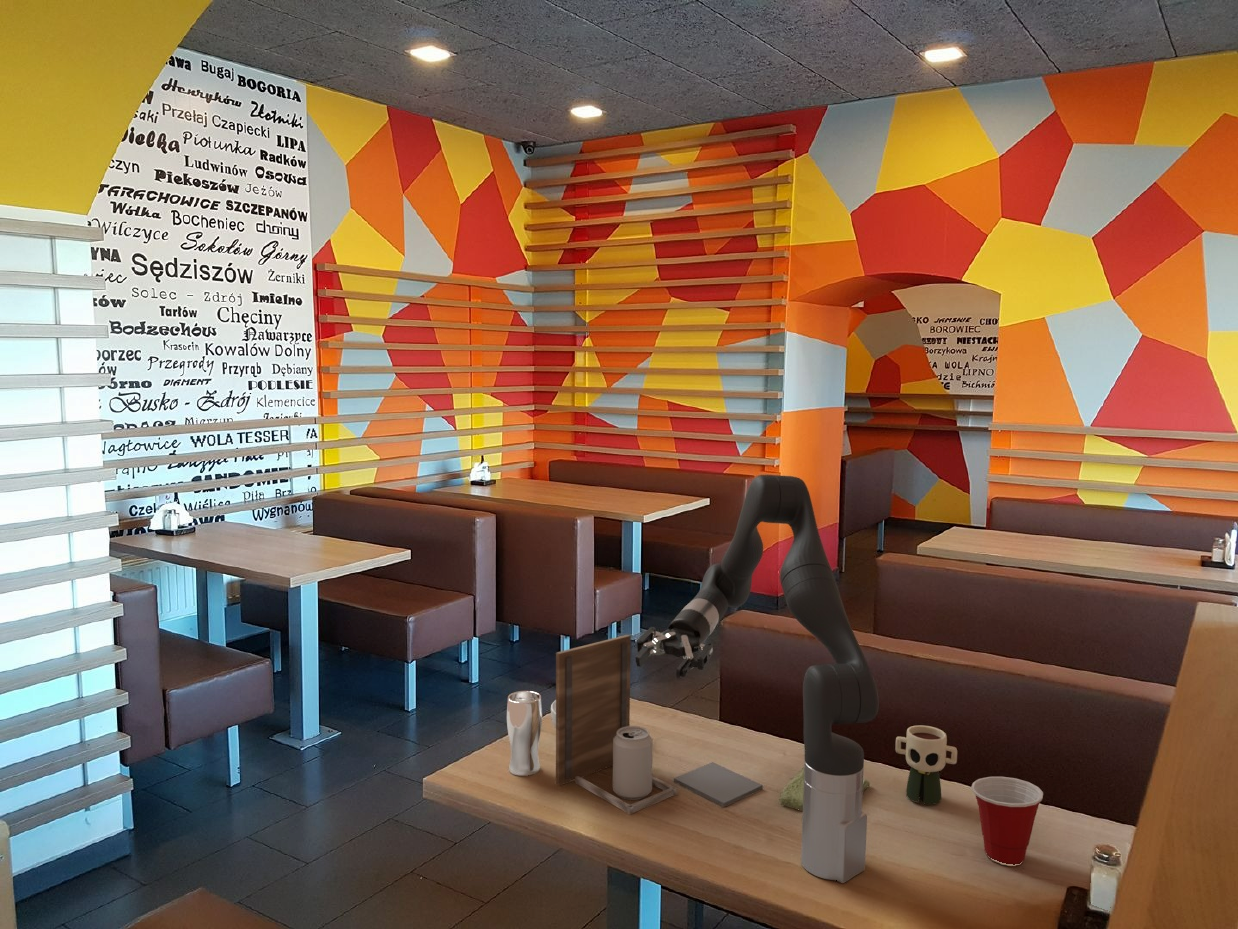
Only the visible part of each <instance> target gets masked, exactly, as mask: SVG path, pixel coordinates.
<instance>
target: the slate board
mask: <svg viewBox="0 0 1238 929" xmlns="http://www.w3.org/2000/svg"><path fill="white" fill-rule="evenodd" d="M673 783H674V784H677V785H679V786H681V787H683V788H684V789H687V790H689V791H691V792H692V793H695V794H696V795H699V796H700V797H703V798H704V799H707V801H708V800H709V801H710V802H712V803H715V804H716V805H719V806H720V807H723V808H725V807H727V806H730V805H731V804H734V803H735V802H738V801H740V800H742V799H744V798H746V797H749V796H751V795H753V794H755V793H757V792H759V791H761V790H763V789H764V786H763V784H761V783H759V782H757V781H755V780H753V779H751V778H748V777H747V776H744V775H741V774H740V773H738V772H735V771H733V770H731V769H729V768H726V767H724V766H722V765H720V764H718V763H715V762H714V761H711V762H709V763H706V764H704V765H703V766H700V767H698V768H695V769H692V770H690V771H688V772H687V771H686V772H685V773H682V774H680V775H677V776H676V777H673Z"/></svg>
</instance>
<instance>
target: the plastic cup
mask: <svg viewBox="0 0 1238 929" xmlns="http://www.w3.org/2000/svg"><path fill="white" fill-rule="evenodd" d="M970 788H971V791H972V792H973V794H974V795H975V799H976V803H977V805H978V806H977V807H978V812H979V819H980V820H979V821H980V826H981V832H982V838H983V848H984V851H985V854H986V853H987V855H988V856H989V857H990V858H992V859H994V860H997V861H999V862H1002V863H1006V864H1013V865H1015V864H1020V863H1021V862H1022V861H1023V862H1024V861H1025V858H1026V854H1027V850H1028V846H1029V844H1030V841H1031V840H1030V839H1031V836H1032V832H1033V828H1034V825H1035V824H1034V823H1035V819H1036V816H1037V812H1038V809H1039V805H1040V803H1041V802H1042V801H1043V796H1044V791H1042V789H1041V788H1040V787H1039V786H1037V785H1035V784H1033V783H1031V782H1029V781H1026V780H1022V779H1019V778H1016V777H1015V778H1014V777H1006V776H987V777H982V778H978V779H976V780H975V781H974V782H972V784H971V787H970ZM987 855H986V856H987Z"/></svg>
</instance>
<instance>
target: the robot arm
mask: <svg viewBox="0 0 1238 929" xmlns="http://www.w3.org/2000/svg"><path fill="white" fill-rule="evenodd" d="M747 488H748V489H747V491H746V494H745V497H744V501H743V503H742V508H741V511H740V513H739V517H738V521H737V525H736V529H735V532H734V536H733V538H732V540H731V542H730V544H729V546H728V548H727V550H726V551H725V552H724V555H723V558H722V559H721V563H718V562H717V563H714V564H712V565H711V566H709V567H708V568H707V570H706V572H705V573H704V575H703V578H702V581H701V585H700V589H699V591H698V592H697V594H696V595H695V596H694V597H693V599H692V600H690V601H689V603H687V605H685V606H684V607H683V609H681V611H680V612H679V613H678V614H677V615H676V616H675V618H674V619H673V620H672V621H671V622H670V623H669V625H668V627H667V629H665V630H664V631H662V632H660V631H657V629H656V627H655V626H650V627H648V629H647V630H645V632H644V633H643V634H642V635H641V636H640V637H639V638H638V639H637V640H636V648H637V649H636V650H637V653H636V655H635V664H636V666H637V667H640V668H642V666H643V665H644V664H645V663H646V661H647V660H648V659H649V658H650V657H651V656H655V655H656V656H661V655H664V654H665V655H670V656H672V655H673V656H674V657H677V658H680V657H682V658H683V660H682V661H681V663H680V664H678V666H677V667H676V670H675V673H676V674H675V675H676V678H677V679H682V678H684V677H686V676H687V675H688V674H689V673H690V671H691V670H693V669H694V668H697V670H699V671H701V670H704V668H705V667H706V665H707V664H708V662H709V661H710V659H711V657H713V654H714V653H713V651H714V650H713V649H714V648H713V642H712V641H707V642H706V640H707V639H708V638H710V637H709V636H710V635H712V633H713V632H714V630H715V628H716V626H717V625H718V624H719V622H720V621H721V619H722V618H723V617H724V615H725V614H726V612H727V611H728V608H732V609H733V608H739V607H741V606H743V605H745V603H746V601H747V600H748V598H749V597H750V594H751V589H752V580H753V579H752V578H753V574H754V572H755V571H756V569H757V567H758V565H759V564H760V562H761V559H762V558H763V554H764V542H763V539H762V537H761V535H760V533H759V530H758V526H759V525H760V523H762V522H763V523H767V524H768V523H769V524H783V525H784V524H786V525H788V526H789V527H790V529H791V531H792V535H793V541H792V544H791V546H790V548H789V550H788V551H787V553H786V555H785V558H784V560H783V563H782V565H781V568H780V571H779V582H780V584H781V589H782V592H783V595H784V599H785V603H786V605H787V608H788V610H789V612H790V614H792V616H793V617H794V618H795V620H797V621H798V623H799V624H801V625H802V627H803V628H805V630H807V631H808V632H809V633H810V634H811V635H812V636H814V637H815V638H816V639H817V640H818V641H819V642H820V643H821V644H822V645H823V646H824V647H825V648H826V649H827V651H828V653H829V654H830V655H831V657H832V658H833V660H834V662H835V663H832V664H831V663H828V664H825V663H824V664H815V665H811V666H809V667H808V668H807V670H806V671H805V674H804V677H803V684H802V697H803V698H802V700H803V701H802V704H803V706H802V707H803V744H804V747H803V748H804V761H803V762H804V764H803V767H804V789H803V812H802V817H801V818H802V819H801V820H802V823H801V849H800V850H801V851H800V852H801V854H800V862H801V863H800V864H801V865H802V867H803V868H804V869H805V870H806V871H807V872H809V873H810V874H812V875H814V876H815V877H818V878H821V879H823V880H824V879H825V880H831V881H836V880H837V882H839V883H841V884H844V883H846V882H848V881H849V880H851V879H852V878H854V877H855V876H857V875H859V874H860V873H862V872H863V871H865V870H866V850H867V848H866V847H867V828H868V823H867V822H868V815H867V813H866V812H864V811H863V810H862V809H863V793H864V792H863V778H864V770H865V769H864V766H865V752H864V749H863V747H862V746H861V745H860V744H859V743H858V742H856V741H855V740H853V739H851V738H849V737H846V736H843V735H839V734H836V733H835V732H832V731H833V730H832V726H833V725H843V724H844V725H845V724H847V725H848V724H860V723H868V722H871V721H873V720H874V719H875V718H876V717H877V715H878V713H879V707H880V706H879V705H880V704H879V703H880V698H879V691H878V688H877V687H878V686H877V684H876V681H875V678H874V676H873V673H872V670H871V668H870V665H869V663H868V661H867V659H866V657H865V655H864V652H863V650H862V649H861V645H860V643H859V642H858V639H857V637H856V636H855V633H854V631H853V628H852V626H851V624H850V620H849V618H848V615H847V611H846V610H845V606H844V603H843V601H842V596H841V594H840V593H841V592H840V590H839V587H838V584H837V581H836V578H835V576H834V572H833V570H832V568H831V565H830V562H829V559H828V557H827V554H826V552H825V548H824V545H823V542H822V539H821V536H820V533H819V527H818V525H817V520H816V516H815V511H814V507H813V502H812V498H811V495H810V491H809V488H808V486H807V484H806V482H805V481H804V480H803V479H802V478H800V477H797V476H791V475H782V474H781V475H778V474H760V475H759V474H758V475H756V476H755V477H754V478H753V479H752V481H751V482H750V484H749V486H748V487H747ZM705 642H706V643H705ZM704 643H705V644H704ZM660 644H661V646H660ZM660 647H661V648H660ZM699 651H700V652H699ZM697 652H699V653H698V655H697V657H695V656H694V654H695V653H697Z"/></svg>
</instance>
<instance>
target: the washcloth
mask: <svg viewBox="0 0 1238 929" xmlns="http://www.w3.org/2000/svg"><path fill="white" fill-rule="evenodd" d="M870 786H871V783H870V781H868V779H865V778H864V777H863V793H864V792H865V790H866V789H867V788H868V787H870ZM803 789H804V766H803V767H802V768H801V770H800V771H799V773H797V775H796V776H795V777H794V778H792V779H791V781H790V782H788V784H786V786H785V787H784V788H783V790H782V792H781V794H780V798H779V799H778V800H779V803H780V805H781V806H783V807H786V808H791V809H795V810H797V811H799V812H802V811H803ZM798 809H799V810H798Z"/></svg>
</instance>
